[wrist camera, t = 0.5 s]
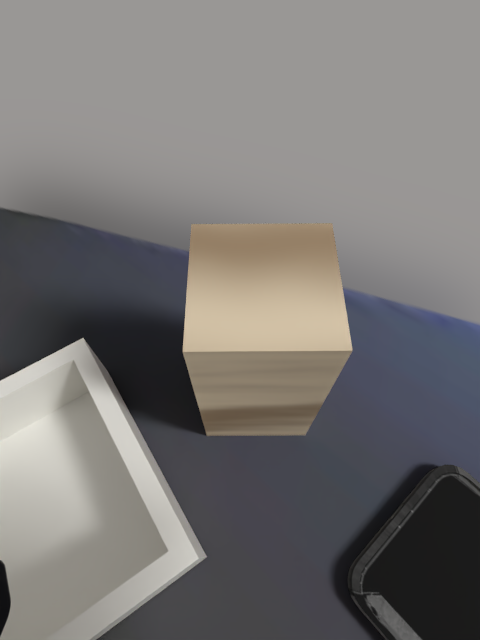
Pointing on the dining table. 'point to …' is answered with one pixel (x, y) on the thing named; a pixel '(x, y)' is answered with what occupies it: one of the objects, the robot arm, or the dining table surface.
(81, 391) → the box
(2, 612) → the robot arm
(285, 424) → the wood block
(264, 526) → the dining table surface
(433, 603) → the phone
